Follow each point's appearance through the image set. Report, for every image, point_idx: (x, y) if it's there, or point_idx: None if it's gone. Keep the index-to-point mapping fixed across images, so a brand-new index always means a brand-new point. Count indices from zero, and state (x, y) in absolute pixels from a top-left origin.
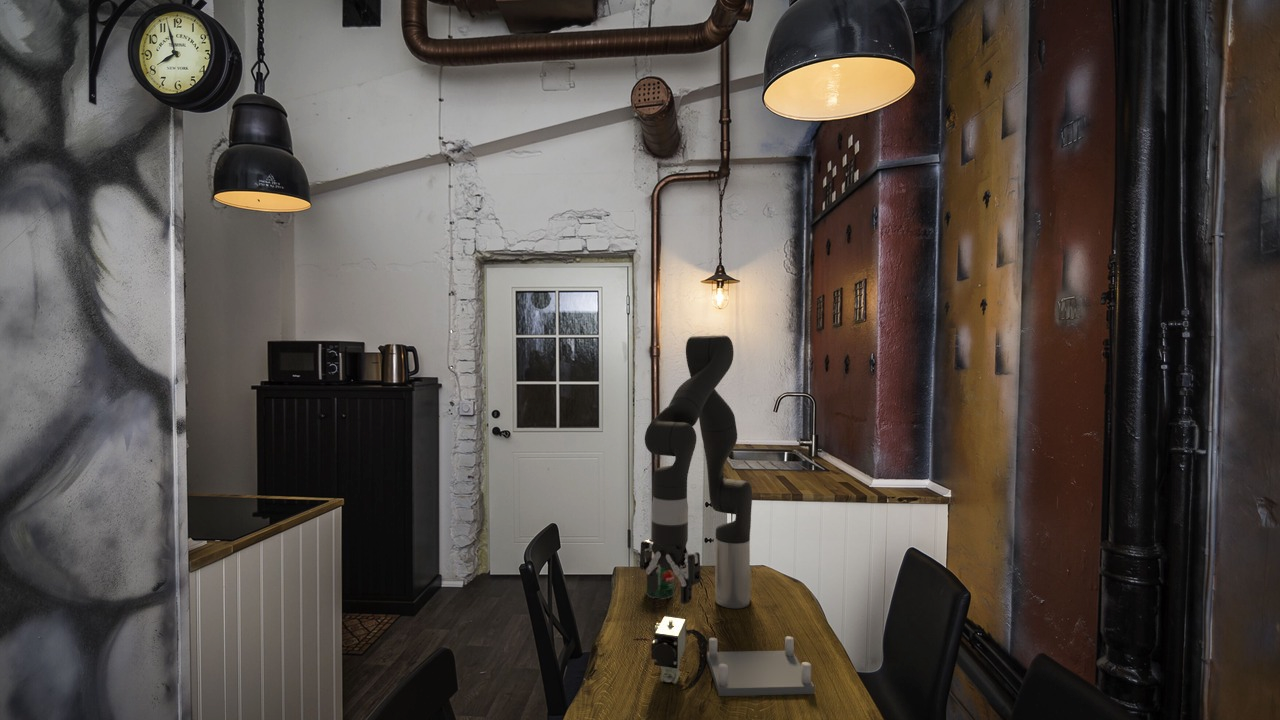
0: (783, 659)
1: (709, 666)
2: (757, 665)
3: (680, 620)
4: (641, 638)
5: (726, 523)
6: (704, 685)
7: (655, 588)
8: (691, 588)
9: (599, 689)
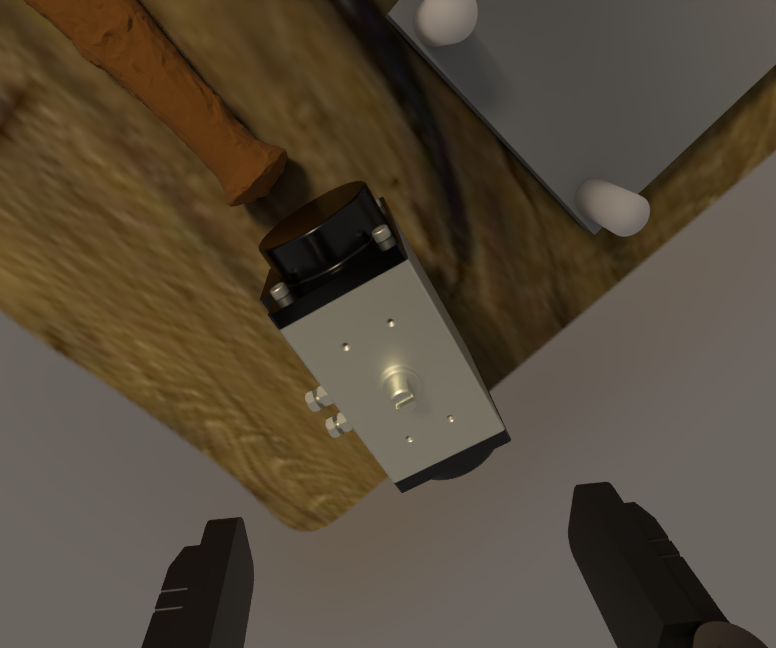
0: None
1: (441, 76)
2: None
3: (393, 293)
4: (3, 109)
5: None
6: (502, 210)
7: (241, 556)
8: (711, 603)
9: (262, 468)
